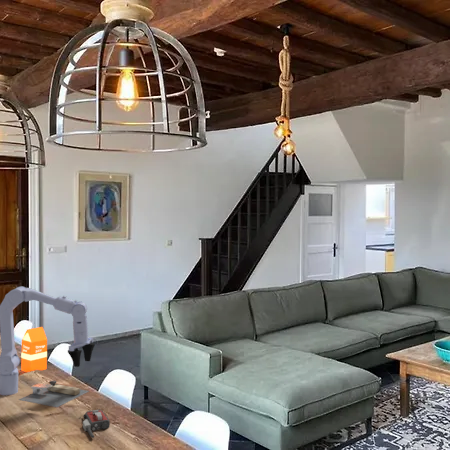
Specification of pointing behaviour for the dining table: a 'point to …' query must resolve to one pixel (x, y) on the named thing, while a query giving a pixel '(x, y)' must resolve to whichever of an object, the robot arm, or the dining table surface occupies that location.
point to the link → (63, 389)
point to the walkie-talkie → (95, 421)
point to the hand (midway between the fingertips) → (82, 363)
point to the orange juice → (34, 350)
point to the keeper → (37, 388)
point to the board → (51, 398)
